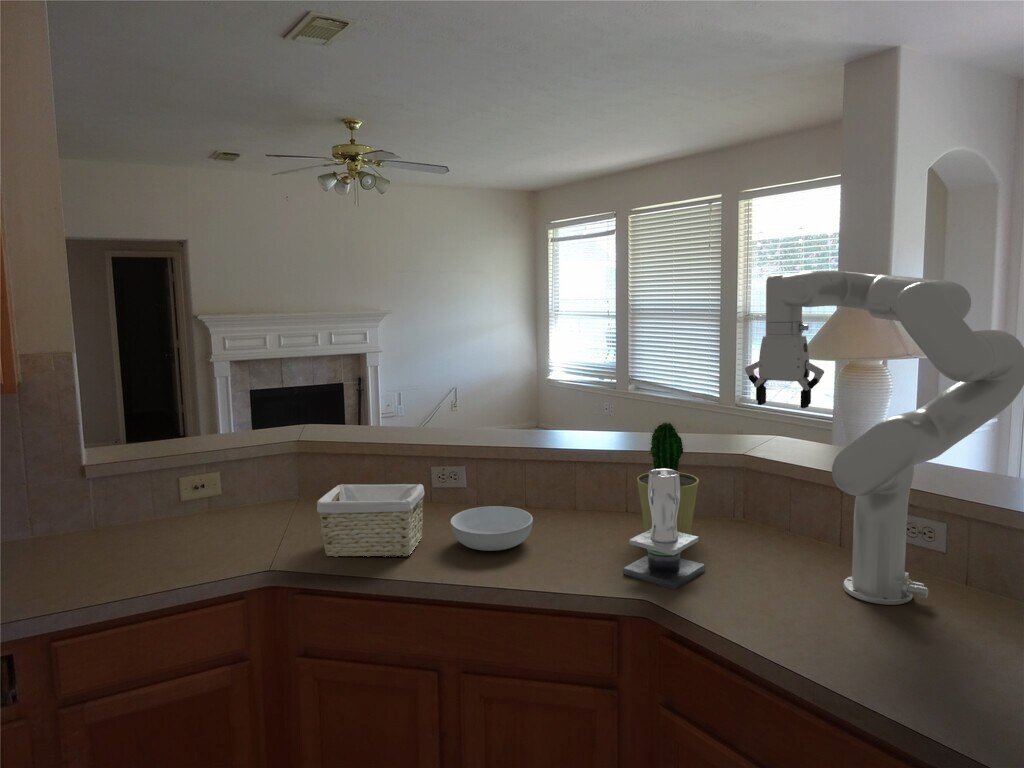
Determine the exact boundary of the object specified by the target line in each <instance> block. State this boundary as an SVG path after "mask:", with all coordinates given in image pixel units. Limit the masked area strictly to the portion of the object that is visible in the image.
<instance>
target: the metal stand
mask: <svg viewBox="0 0 1024 768" xmlns="http://www.w3.org/2000/svg"><path fill="white" fill-rule="evenodd" d="M651 530H652V529H650V530H648V531H646V532H645V531H644V532H642V533H640V534H638V535H636V536H634V537H632V538H630V539H629V541H628V543H629V545H631V546H636V547H640V548H643V549H646V551H647V555H644V556H643V557H641V558H640V559H637V560H635V561H633V562H632V563H630V564H627V565H626V566H625V567H623V568H622V571H623V573H622V574H625V575H624V576H627V575H628V577H630V576H631V578H634V579H637V578H638V580H640V579H641V581H644V580H645V581H644V582H647V583H650V582H651V584H655V585H657V584H658V585H657V586H661V587H665V588H668V589H672V590H674V591H675V590H677V589H678V588H680V587H682V586H683V585H684V584H686V583H688V582H689V581H691V580H693V579H694V578H696V577H697V576H699V575H700V574H702V573H703V572H706V568H705V566H706V565H705V564H704V563H701V562H697V561H693V560H689V559H685V558H682V557H681V553H682V551H684V550H685V549H687V548H689V547H690V546H691V547H692V545H694V544H696V543H698V542H699V541H700V540H699V536H696V535H692V534H690V535H689V534H685V533H680V532H678V540H677V541H675V542H671V543H661V542H656V541H654V540H652V539H651V537H650V536H651Z"/></svg>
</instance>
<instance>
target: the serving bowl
mask: <svg viewBox="0 0 1024 768" xmlns="http://www.w3.org/2000/svg"><path fill="white" fill-rule="evenodd" d="M533 518H534V517H533V516H532V514H531V513H529V512H528V511H527V510H524V509H522V508H517V507H513V506H501V505H499V506H498V505H496V506H495V505H493V506H492V505H489V506H479V507H474V508H468V509H466V510H462V511H460V512H458V513H455V514H454V516H452V517H451V518H450V527H451V531H452V534H453V535H454V537H455V538H456V540H457V541H458V543H460V544H461V545H463V546H465V547H467V548H470V549H472V550H476V551H477V550H479V551H485V552H486V551H489V552H490V551H491V552H492V551H493V552H494V551H503V550H507V549H511V548H514V547H516V546H518V545H520V544H522V543H523V542H524V541H525V540H527V538H528V537H529V535H530V533H531V531H532V528H533V524H534V523H533V522H534V519H533Z"/></svg>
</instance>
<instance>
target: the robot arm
mask: <svg viewBox="0 0 1024 768" xmlns="http://www.w3.org/2000/svg"><path fill="white" fill-rule="evenodd" d="M815 307H818V308H819V307H842V308H843V307H844V308H851V309H857V310H864V311H867V312H868V314H869V315H870V316H871V317H873V318H875V319H880V320H888V321H894V322H900V324H901V325H902V327H903V328H904V330H905V331H906V333H907V334H908V335H909V336H910V338H911V339H912V340H913V342H914V343H915V344H916V345H917V346H918V348H919V349H920V350H921V351H922V353H923V354H924V355H925V356H926V358H927V359H928V360H929V362H930V363H931V364H932V365H933V367H934V368H935V369H936V370H937V371H938V372H939V373H941V374H942V376H944V377H946V378H948V379H950V380H951V381H955V382H956V383H954V384H952V385H951V386H949V387H948V388H947V389H945V390H944V391H942V392H941V393H939V394H938V395H937V396H936V397H934V398H933V399H932V400H930V401H928V402H927V403H926V404H924V405H922V406H921V407H919V408H917V409H914V410H912V411H909V412H903V413H900V414H899V413H898V414H896V415H891V416H889V417H886V418H885V419H883V420H881V421H880V422H878V423H876V424H875V425H873V426H872V427H871V428H870V429H868V430H867V431H866V432H865V433H863V434H861V435H860V436H859V437H858V438H856V439H855V440H854V441H852V442H851V443H849V444H848V445H846V447H844V448H843V449H842V450H841V451H840V452H838V453H837V455H836V456H835V458H834V459H833V462H832V465H831V476H832V479H833V481H834V484H835V485H836V486H837V488H839V489H840V490H841V491H842V492H844V493H846V494H848V495H850V496H855V500H854V507H853V512H854V513H853V530H852V531H853V535H852V537H853V538H852V560H851V561H852V565H851V576H847V578H845V579H844V580H843V587H842V589H844V591H845V592H846V593H847V594H848V595H850V596H851V597H854V598H856V599H857V600H861V601H863V602H868V603H871V604H876V605H886V606H887V605H889V606H896V605H903V604H906V603H908V602H910V601H912V599H913V596H915V595H916V596H917V597H921V598H925V599H928V596H929V588H928V587H925V583H922V582H918V581H912V579H910V573H909V572H907V571H906V551H907V550H906V549H907V546H906V545H907V531H908V530H907V525H908V523H907V522H908V511H909V510H908V509H909V499H910V498H909V497H910V493H911V492H910V491H911V487H912V483H913V478H914V473H915V466H916V465H920V464H922V463H925V462H928V461H931V460H934V459H936V458H938V457H940V456H941V455H943V454H944V453H946V451H948V450H950V448H952V447H954V446H955V445H956V444H958V443H959V442H961V441H962V440H963V439H965V438H966V437H969V435H971V434H973V433H974V432H975V431H976V430H978V429H979V428H981V427H982V426H983V425H985V424H986V423H988V422H989V421H990V420H992V419H994V418H995V417H996V416H998V415H999V414H1000V413H1002V412H1003V411H1004V410H1005V409H1007V407H1009V406H1010V405H1011V403H1013V402H1014V401H1015V400H1016V398H1017V397H1018V395H1019V394H1020V393H1021V391H1022V389H1023V387H1024V346H1023V344H1022V342H1021V340H1019V339H1018V338H1017V337H1016V336H1014V335H1013V334H1011V333H1009V332H1006V331H1003V330H999V329H998V330H997V329H981V330H972V328H971V327H970V326H969V325H968V324H967V323H966V322H965V320H964V319H965V318H966V317H967V315H968V314H969V312H970V310H971V307H972V299H971V295H970V292H969V291H968V290H967V289H966V287H964V286H963V285H961V284H959V283H957V282H954V281H950V280H942V279H935V278H934V279H932V278H924V277H923V278H922V277H921V278H920V277H911V276H902V275H891V274H881V273H880V274H870V273H863V272H853V271H851V272H850V271H842V270H808V271H800V272H797V273H775V274H771V275H769V276H767V278H766V282H765V335H764V336H762V340H761V343H760V349H759V357H758V361H756V362H754V363H752V364H749V365H748V366H746V367H744V371H745V373H746V375H747V376H748V380H749V381H750V382H751V383H752V385H753V386H754V388H755V399H756V401H757V405H758V406H762V405H765V404H766V403H767V386H766V385H765V384H766V383H767V382H768V381H778V382H779V381H781V382H797V383H798V384H799V385H800V386H801V388H802V390H800V408H801V409H807V408H808V407H809V406H810V405H811V403H812V390H813V388H814V387H815V386H817V385H818V384H819V383H820V380H821V379H822V378H823V375H824V374H825V371H824V369H822V368H821V367H819V366H817V365H815V364H813V363H811V362H810V352H809V346H808V345H809V344H808V340H807V336H806V335H803V333H804V332H805V331H806V332H808V331H809V328H810V327H809V324H805V323H804V321H803V308H815ZM757 369H758V376H759V377H758V376H757V375H756V374H755V370H757ZM811 372H812V373H813V378H812V379H811V380H810V379H809V377H810V373H811Z"/></svg>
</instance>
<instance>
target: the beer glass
mask: <svg viewBox="0 0 1024 768" xmlns="http://www.w3.org/2000/svg"><path fill="white" fill-rule="evenodd" d="M648 473H649V479H648V498H649V505H650V510H651V516H652V530H651V536H650V537H651V539H652V540H654V541H656V542H661V543H671V542H675V541H677V540H678V532H677V524H676V522H677V514H678V508H679V502H680V479H679V473H680V472H679V470H678V471H676V470H671V469H655V470H654V469H651V470H649V471H648Z"/></svg>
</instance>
